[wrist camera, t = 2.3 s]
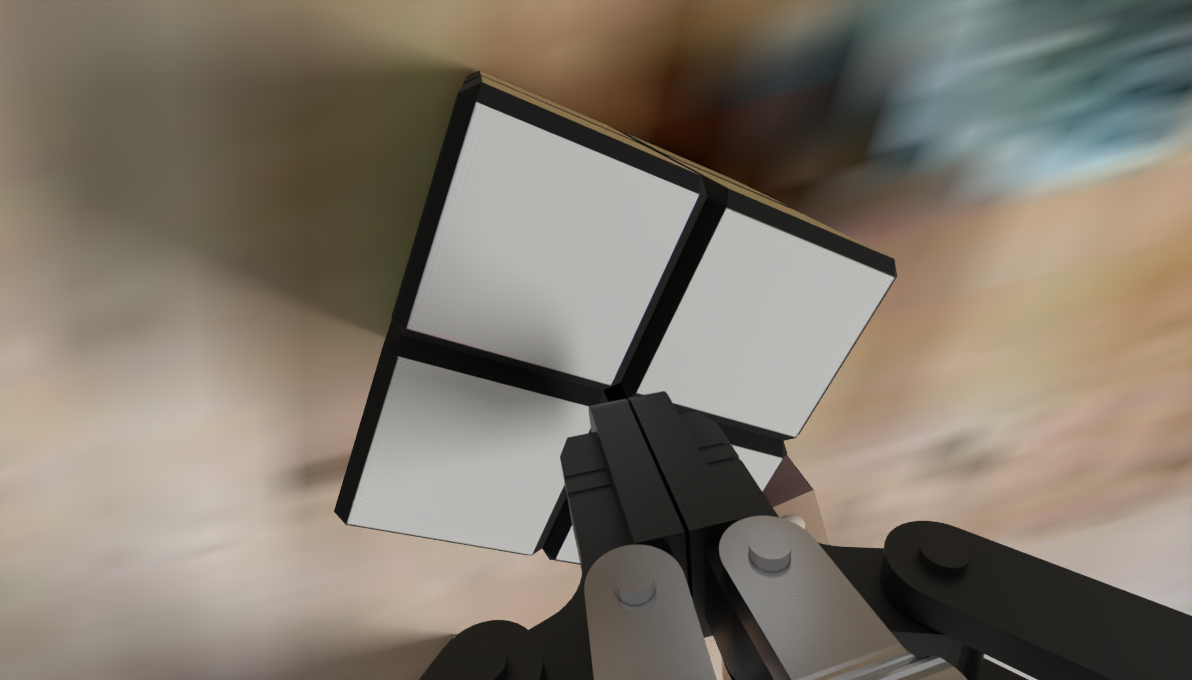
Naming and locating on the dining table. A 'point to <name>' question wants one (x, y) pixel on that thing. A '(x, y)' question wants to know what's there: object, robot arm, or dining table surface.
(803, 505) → the walnut block
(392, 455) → the puzzle cube
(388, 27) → the dining table surface
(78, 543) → the dining table surface
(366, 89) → the dining table surface
